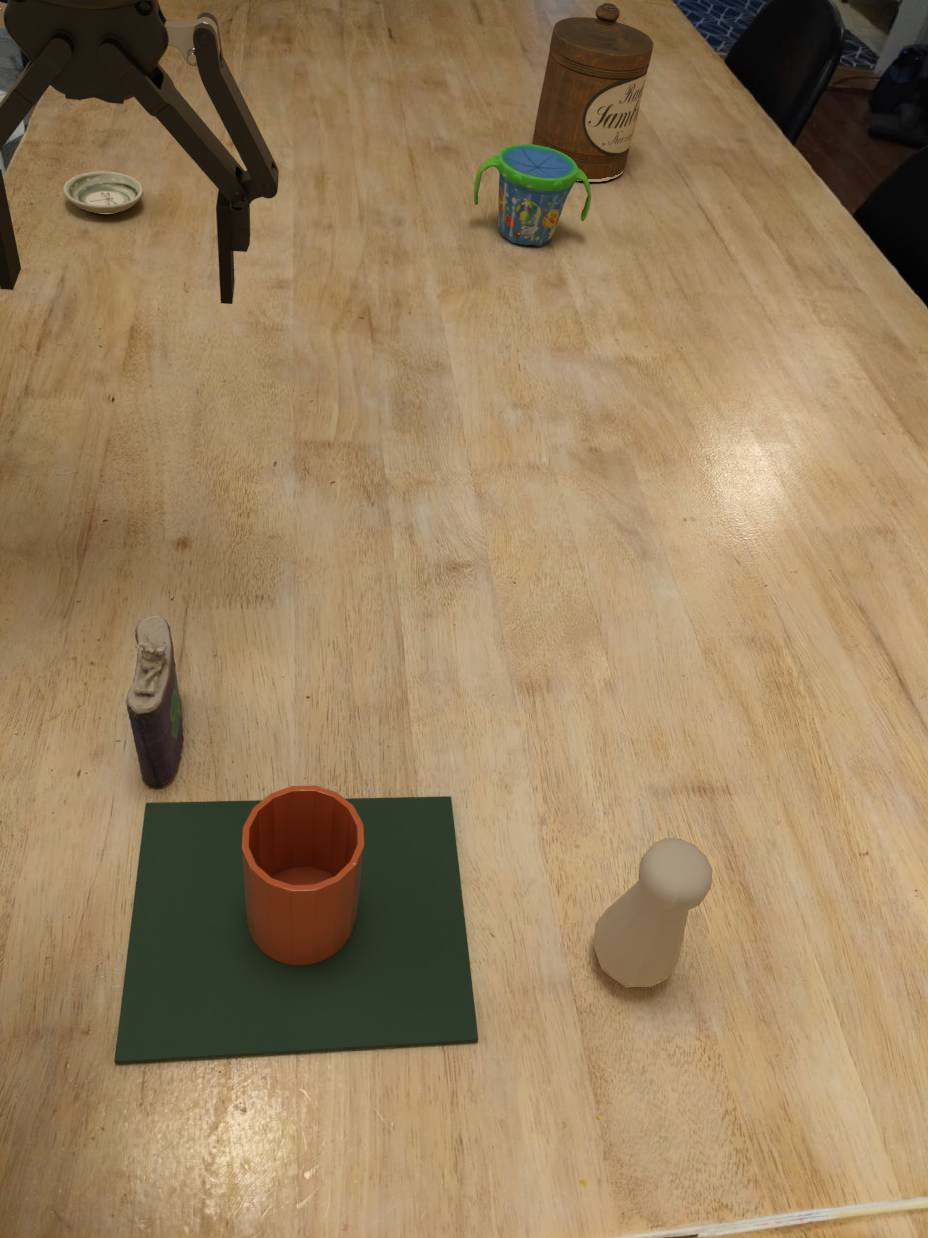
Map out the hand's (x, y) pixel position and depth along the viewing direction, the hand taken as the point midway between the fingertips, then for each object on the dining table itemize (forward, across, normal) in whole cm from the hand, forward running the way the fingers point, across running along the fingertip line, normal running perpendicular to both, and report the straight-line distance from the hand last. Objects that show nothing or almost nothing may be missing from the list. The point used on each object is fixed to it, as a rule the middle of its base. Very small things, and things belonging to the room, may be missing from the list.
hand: (121, 286), depth 67 cm
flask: (+29, +2, -16) cm, 33 cm away
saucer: (+29, -14, +68) cm, 75 cm away
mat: (+28, +12, -31) cm, 43 cm away
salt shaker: (+28, +34, -34) cm, 56 cm away
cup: (+28, +12, -31) cm, 43 cm away
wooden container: (+29, +53, +94) cm, 112 cm away
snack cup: (+29, +42, +69) cm, 85 cm away
